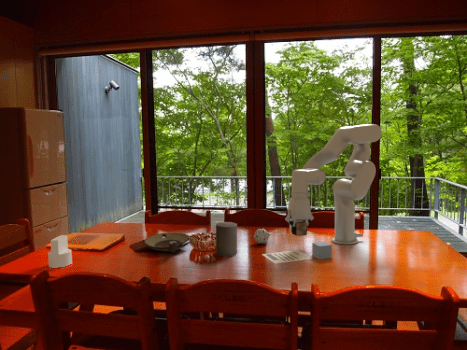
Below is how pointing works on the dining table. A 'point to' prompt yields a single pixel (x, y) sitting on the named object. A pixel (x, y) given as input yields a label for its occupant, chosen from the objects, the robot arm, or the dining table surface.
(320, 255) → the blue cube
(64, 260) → the base with upright slab
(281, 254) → the letter
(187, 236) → the oil lamp
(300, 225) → the walnut block
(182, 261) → the dining table surface
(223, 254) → the pillar candle
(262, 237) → the game die
